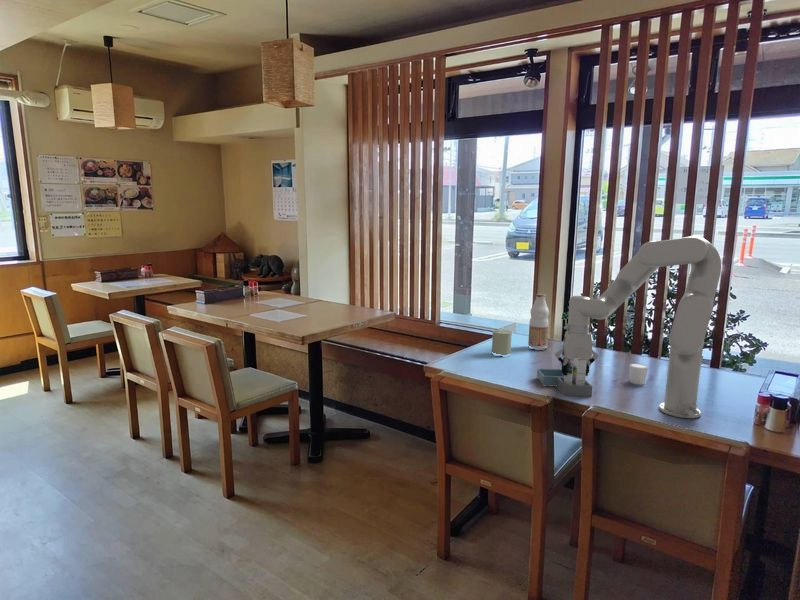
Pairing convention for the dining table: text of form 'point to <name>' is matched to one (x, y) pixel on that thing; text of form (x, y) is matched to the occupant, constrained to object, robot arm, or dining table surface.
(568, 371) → the syrup box
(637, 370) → the white cup
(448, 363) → the dining table surface
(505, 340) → the can
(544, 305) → the fruit juice
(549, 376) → the slate bin
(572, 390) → the charcoal bin
